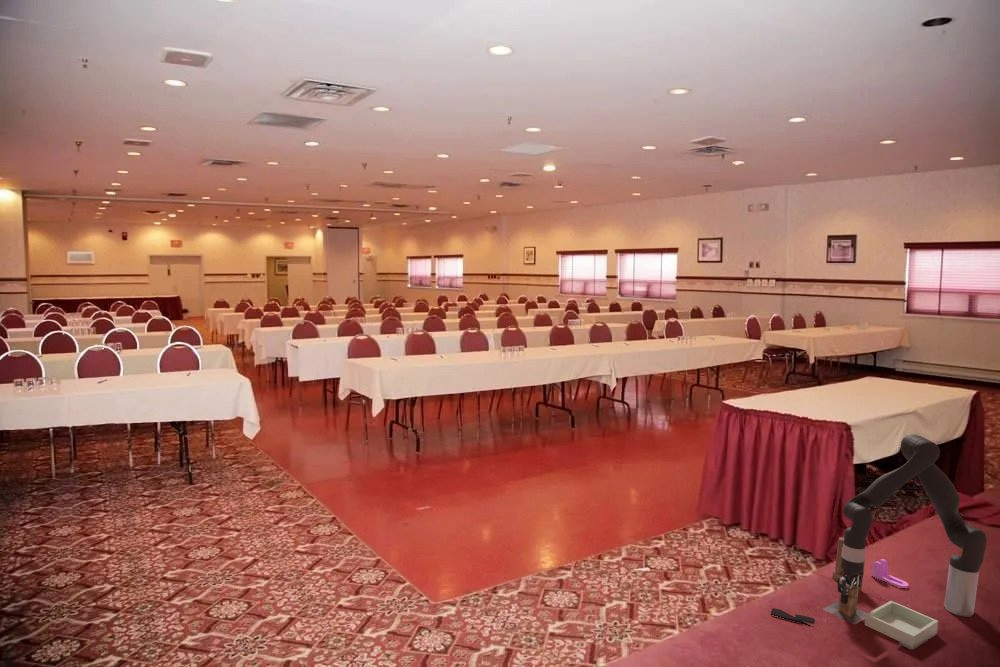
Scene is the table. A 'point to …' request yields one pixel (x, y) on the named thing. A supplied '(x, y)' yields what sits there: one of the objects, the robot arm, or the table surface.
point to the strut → (849, 602)
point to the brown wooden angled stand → (838, 569)
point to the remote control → (797, 617)
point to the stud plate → (852, 619)
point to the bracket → (886, 574)
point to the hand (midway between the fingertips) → (848, 600)
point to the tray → (902, 624)
